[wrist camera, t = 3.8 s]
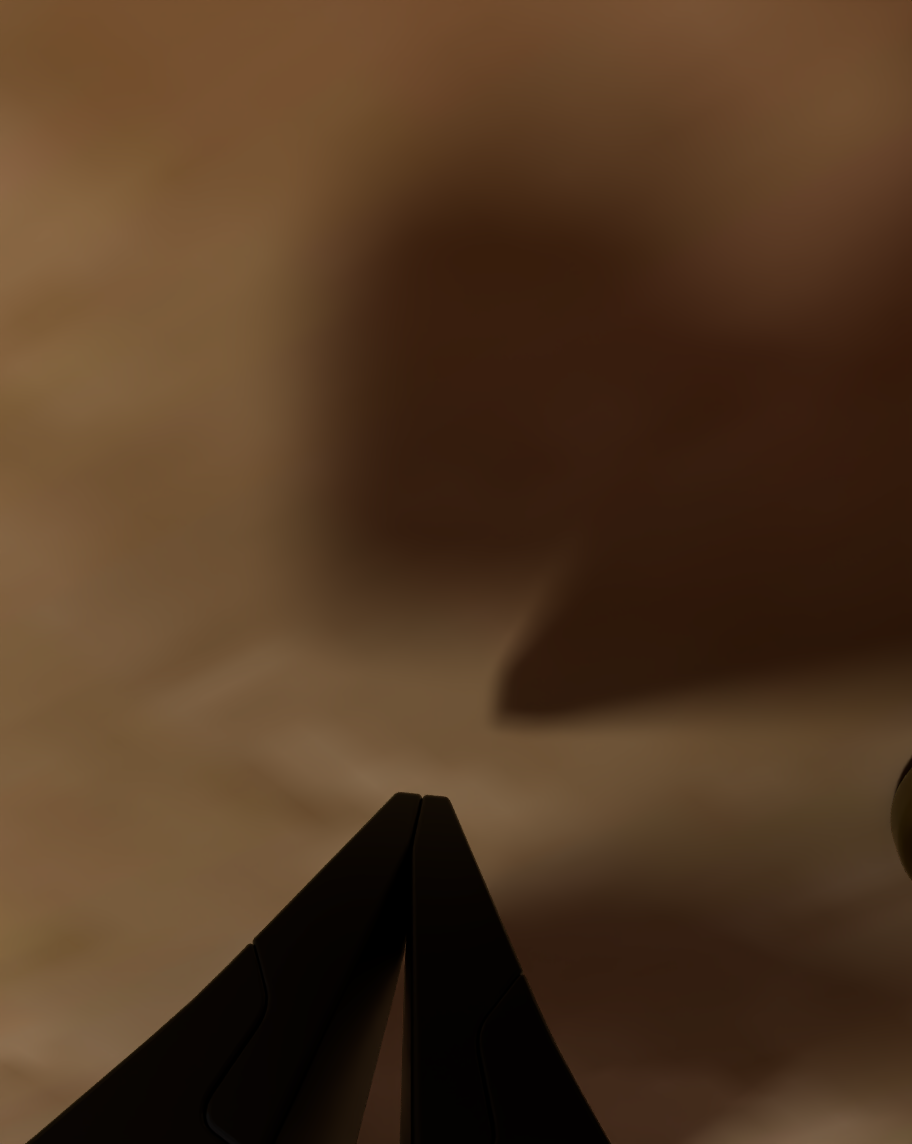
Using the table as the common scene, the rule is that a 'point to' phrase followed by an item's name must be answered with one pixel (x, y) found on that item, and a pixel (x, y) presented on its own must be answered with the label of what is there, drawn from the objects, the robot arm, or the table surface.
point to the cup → (903, 822)
